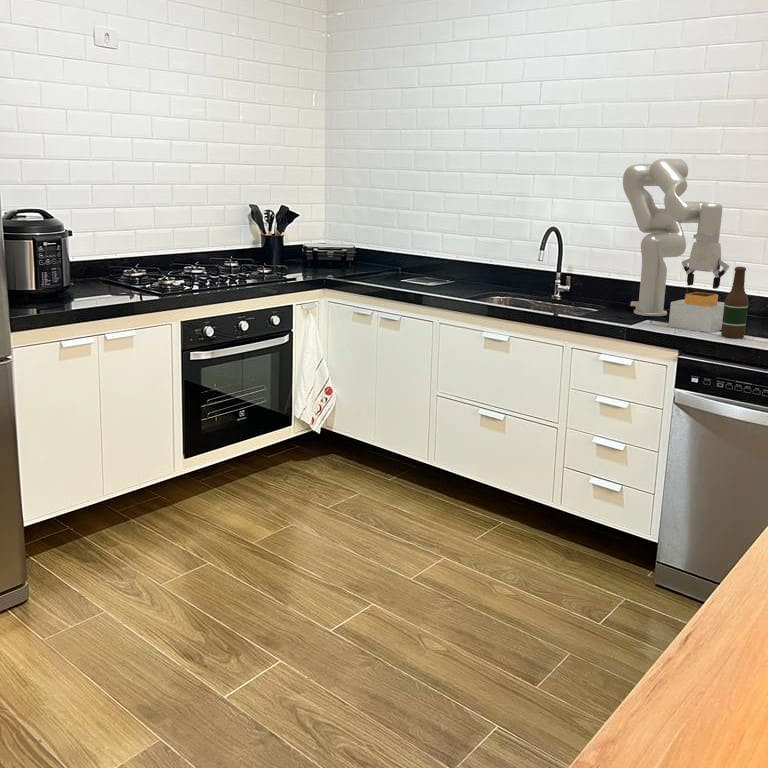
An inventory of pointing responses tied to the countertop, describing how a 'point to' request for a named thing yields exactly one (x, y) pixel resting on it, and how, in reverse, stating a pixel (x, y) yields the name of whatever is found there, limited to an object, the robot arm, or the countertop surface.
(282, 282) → the countertop surface
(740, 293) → the beer bottle
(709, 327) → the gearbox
